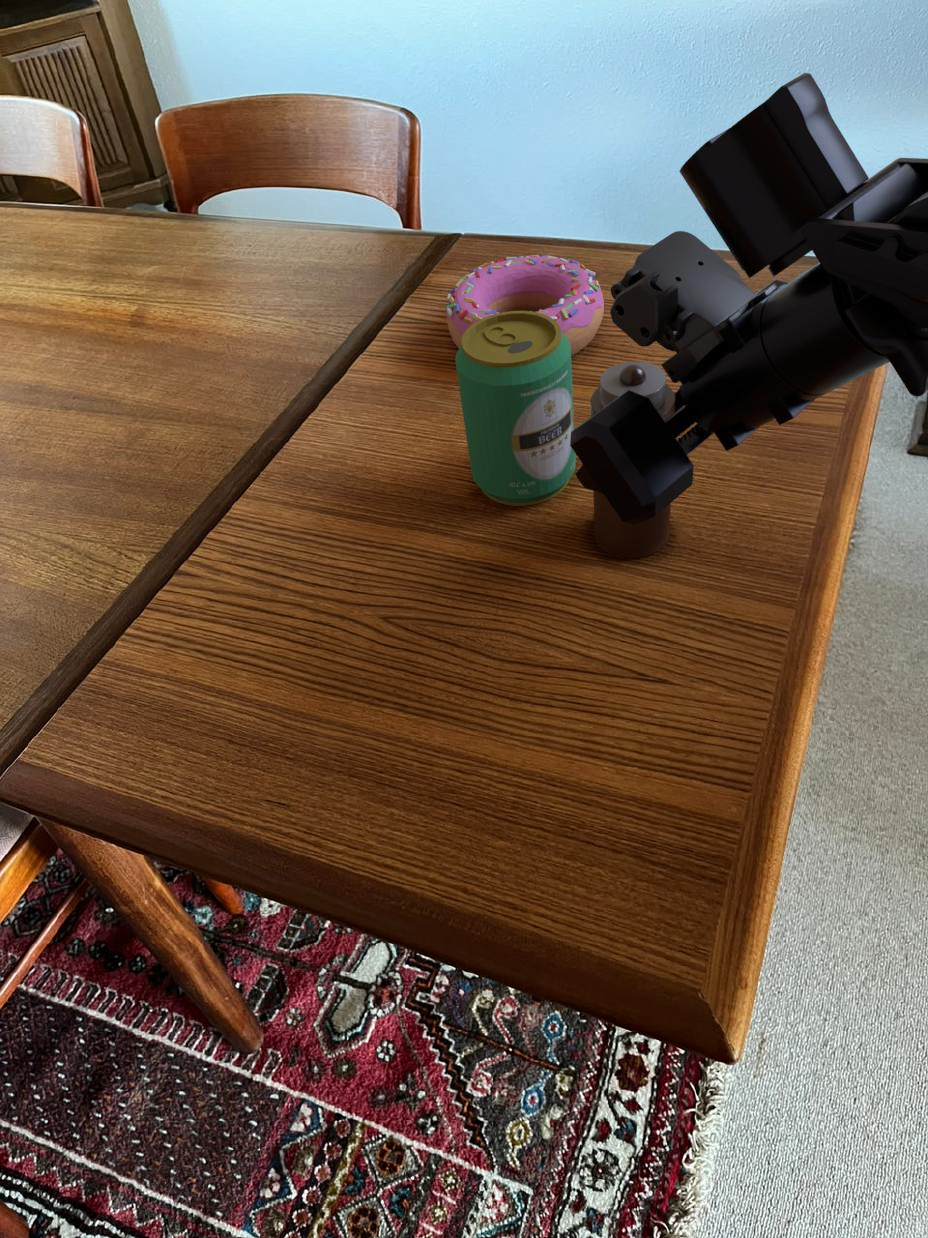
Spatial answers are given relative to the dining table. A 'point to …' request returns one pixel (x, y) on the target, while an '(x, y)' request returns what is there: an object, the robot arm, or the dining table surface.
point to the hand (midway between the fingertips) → (626, 444)
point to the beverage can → (517, 406)
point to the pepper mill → (607, 523)
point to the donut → (529, 295)
